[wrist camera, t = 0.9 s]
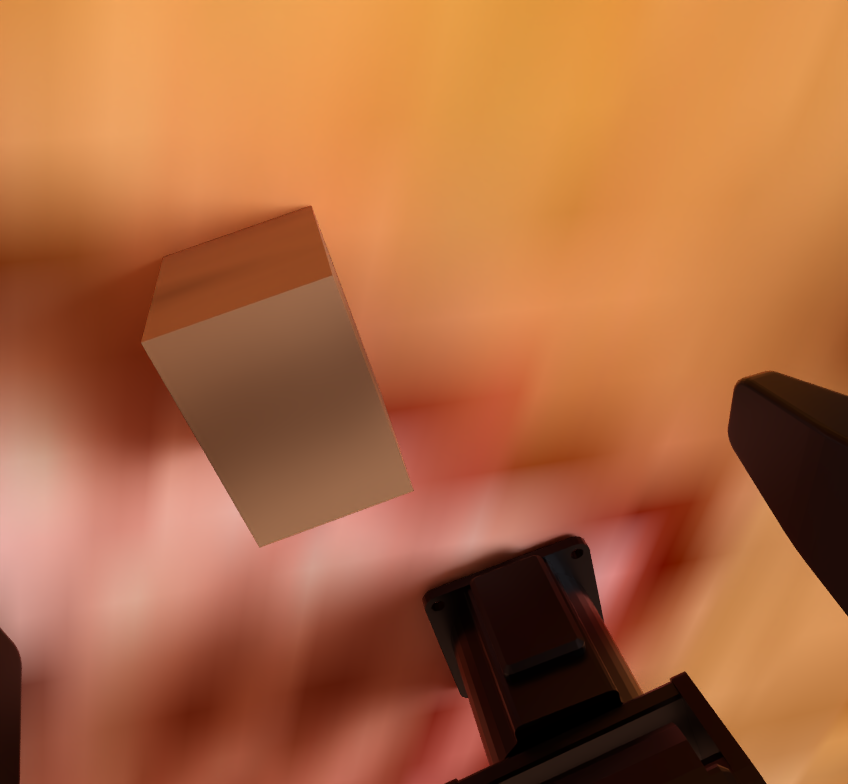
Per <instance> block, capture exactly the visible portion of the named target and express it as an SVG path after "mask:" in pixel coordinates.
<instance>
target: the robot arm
mask: <svg viewBox="0 0 848 784" xmlns="http://www.w3.org/2000/svg"><path fill="white" fill-rule="evenodd" d="M728 436H729V440H730V443H731V446H732V448H733V449H734V451H735V453H736V454H737V456H738V458H739V459H740V461H741V462H742V464H743V466H744V467H745V469H746V471H747V472H748V474H749V475H750V477H751V479H752V480H753V482H754V483H755V485H756V487H757V488H758V490H759V491H760V493H761V495H762V496H763V498H764V500H765V501H766V503H767V504H768V506H769V508H770V509H771V511H772V512H773V514H774V516H775V517H776V519H777V520H778V522H779V524H780V525H781V527H782V529H783V530H784V532H785V533H786V535H787V536H788V538H789V539H790V541H791V542H792V544H793V545H794V547H795V548H796V550H797V551H798V552H799V554H800V555H801V556H802V558H803V559H804V560H805V562H806V563H807V564H808V566H809V567H810V568H811V570H812V571H813V572H814V573H815V575H816V576H817V577H818V578H819V580H820V581H821V582H822V584H823V585H824V586H825V587H826V589H827V590H828V591H829V593H830V594H831V595H832V596H833V598H834V599H835V600H836V602H837V603H838V604H839V605H840V607H841V608H842V609H843V611H844V612H845V613H846V614H847V616H848V396H847V395H844V394H841V393H838V392H835V391H832V390H829V389H826V388H823V387H820V386H817V385H814V384H811V383H808V382H805V381H802V380H799V379H796V378H793V377H790V376H787V375H784V374H781V373H778V372H774V371H765V372H761V373H758V374H754V375H751V376H748V377H744V378H742V379H740V380H738V382H737V383H736V385H735V387H734V391H733V398H732V404H731V411H730V418H729V424H728ZM576 549H577V550H576ZM574 550H575V551H574ZM437 601H439V602H437ZM435 602H437V603H435ZM423 604H424V607H425V611H426V613H427V616H428V618H429V620H430V623H431V625H432V628H433V630H434V632H435V635H436V637H437V640H438V642H439V644H440V647H441V649H442V652H443V654H444V656H445V659H446V661H447V663H448V666H449V668H450V671H451V673H452V675H453V678H454V680H455V683H456V685H457V687H458V690H459V692H460V694H461V696H462V697H465V698H468V699H469V702H470V705H471V708H472V711H473V714H474V718H475V721H476V724H477V727H478V730H479V733H480V737H481V740H482V743H483V746H484V749H485V752H486V756H487V759H488V762H489V765H490V766H489V767H487V768H484V769H482V770H480V771H478V772H476V773H474V774H472V775H469V776H467V777H465V778H463V779H461V780H459V781H458V780H457V779H454V780H452V781H449V782H447V783H445V784H766V782H765V781H764V779H763V778H762V776H761V775H760V773H759V772H758V771H757V769H756V768H755V766H754V765H753V763H752V762H751V761H750V759H749V758H748V757H747V755H746V754H745V752H744V751H743V750H742V748H741V747H740V746H739V744H738V743H737V742H736V740H735V739H734V737H733V736H732V735H731V733H730V732H729V731H728V729H727V728H726V726H725V725H724V724H723V722H722V721H721V720H720V718H719V717H718V716H717V714H716V713H715V711H714V710H713V709H712V707H711V706H710V705H709V703H708V702H707V701H706V699H705V698H704V696H703V695H702V694H701V692H700V691H699V690H698V688H697V687H696V685H695V684H694V683H693V681H692V680H691V679H690V677H689V676H688V675H687V673H686V672H685V671H684V672H682V673H680V674H678V675H676V676H674V677H672V678H670V682H668V683H666V684H664V685H662V686H660V687H658V688H655V689H653V690H651V691H649V692H647V693H645V694H643V692H642V690H641V688H640V687H639V685H638V683H637V681H636V679H635V678H634V676H633V674H632V672H631V670H630V669H629V667H628V665H627V663H626V662H625V660H624V658H623V656H622V654H621V653H620V651H619V649H618V647H617V645H616V644H615V642H614V640H613V638H612V636H611V635H610V633H609V631H608V629H607V628H606V626H605V624H604V620H603V615H602V610H601V605H600V600H599V594H598V589H597V584H596V579H595V574H594V569H593V564H592V559H591V554H590V549H589V547H588V545H587V544H586V542H585V540H584V539H583V538H581V537H577V536H575V537H571V538H568V539H565V540H563V541H560V542H557V543H555V544H552V545H549V546H547V547H544V548H541V549H539V550H536V551H533V552H531V553H528V554H525V555H523V556H520V557H517V558H515V559H512V560H509V561H507V562H504V563H501V564H499V565H496V566H493V567H491V568H488V569H485V570H483V571H480V572H477V573H475V574H472V575H469V576H467V577H464V578H461V579H459V580H456V581H453V582H451V583H448V584H445V585H443V586H440V587H437V588H435V589H432V590H430V591H428V592H427V593H426V594H425V595H424V597H423ZM21 683H22V663H21V657H20V654H19V651H18V649H17V647H16V646H15V644H14V643H13V642H12V640H11V639H10V638H9V637H8V636H7V635H6V634H5V633H4V631H3V630H2V629H1V628H0V784H20V739H21Z"/></svg>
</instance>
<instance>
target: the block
mask: <svg viewBox="0 0 848 784" xmlns="http://www.w3.org/2000/svg"><path fill="white" fill-rule="evenodd" d="M141 344H142V346H143V347H144V349H145V351H146V352H147V354H148V356H149V358H150V359H151V361H152V363H153V365H154V366H155V368H156V370H157V371H158V373H159V375H160V377H161V378H162V380H163V382H164V384H165V385H166V387H167V389H168V390H169V392H170V394H171V396H172V397H173V399H174V401H175V403H176V404H177V406H178V408H179V409H180V411H181V413H182V415H183V416H184V418H185V420H186V422H187V423H188V425H189V427H190V428H191V430H192V432H193V434H194V435H195V437H196V439H197V441H198V442H199V444H200V446H201V447H202V449H203V451H204V453H205V454H206V456H207V458H208V460H209V461H210V463H211V465H212V466H213V468H214V470H215V472H216V473H217V475H218V477H219V478H220V480H221V482H222V484H223V485H224V487H225V489H226V491H227V492H228V494H229V496H230V497H231V499H232V501H233V503H234V504H235V506H236V508H237V510H238V511H239V513H240V515H241V516H242V518H243V520H244V522H245V523H246V525H247V527H248V529H249V530H250V532H251V534H252V535H253V537H254V539H255V541H256V542H257V544H258V546H259V548H260V547H263V546H265V545H268V544H271V543H274V542H276V541H279V540H282V539H284V538H287V537H290V536H293V535H295V534H298V533H301V532H304V531H306V530H309V529H312V528H314V527H317V526H320V525H323V524H325V523H328V522H331V521H333V520H336V519H339V518H342V517H344V516H347V515H350V514H352V513H355V512H358V511H361V510H363V509H366V508H369V507H372V506H374V505H377V504H380V503H382V502H385V501H388V500H391V499H393V498H396V497H399V496H401V495H404V494H407V493H410V492H412V491H414V490H413V487H412V484H411V481H410V478H409V475H408V472H407V469H406V466H405V463H404V460H403V457H402V454H401V451H400V448H399V445H398V442H397V439H396V436H395V433H394V430H393V427H392V424H391V422H390V419H389V416H388V413H387V410H386V407H385V404H384V401H383V398H382V395H381V392H380V389H379V386H378V384H377V381H376V378H375V375H374V373H373V370H372V367H371V365H370V362H369V359H368V357H367V354H366V351H365V349H364V346H363V343H362V341H361V338H360V335H359V333H358V330H357V327H356V324H355V322H354V319H353V316H352V314H351V311H350V308H349V306H348V303H347V300H346V298H345V295H344V292H343V290H342V287H341V284H340V281H339V279H338V276H337V273H336V271H335V268H334V265H333V263H332V260H331V257H330V255H329V252H328V249H327V247H326V244H325V241H324V238H323V236H322V233H321V230H320V228H319V225H318V222H317V220H316V217H315V214H314V212H313V209H312V206H309V207H306V208H303V209H300V210H298V211H295V212H292V213H289V214H286V215H283V216H280V217H277V218H274V219H272V220H269V221H266V222H263V223H260V224H257V225H254V226H251V227H249V228H246V229H243V230H240V231H237V232H234V233H231V234H228V235H226V236H223V237H220V238H217V239H214V240H211V241H208V242H205V243H202V244H200V245H197V246H194V247H191V248H188V249H185V250H182V251H179V252H177V253H174V254H171V255H168V256H165V257H163V260H162V263H161V267H160V271H159V275H158V279H157V283H156V286H155V290H154V294H153V298H152V302H151V306H150V309H149V313H148V317H147V321H146V325H145V329H144V333H143V336H142V340H141Z"/></svg>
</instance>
